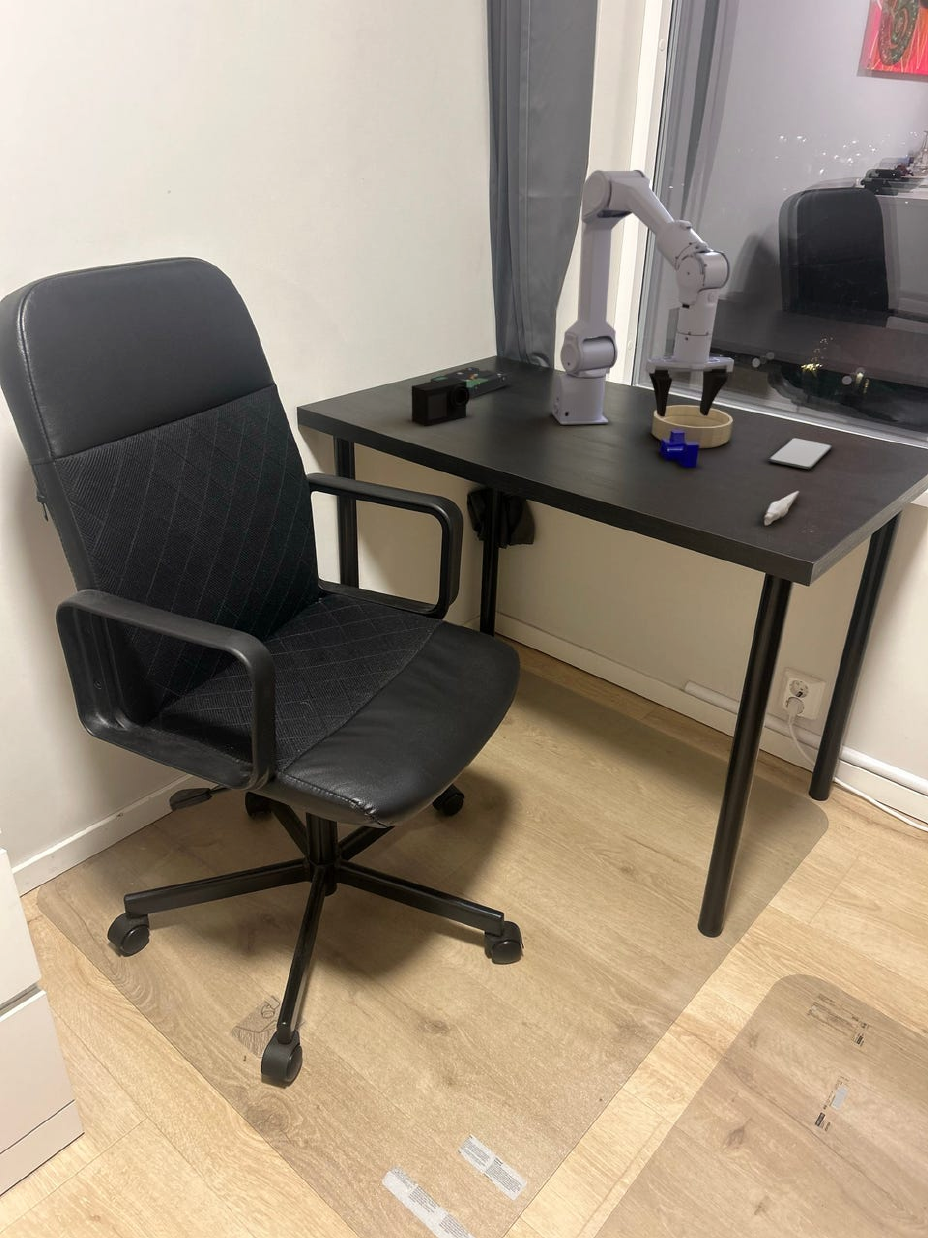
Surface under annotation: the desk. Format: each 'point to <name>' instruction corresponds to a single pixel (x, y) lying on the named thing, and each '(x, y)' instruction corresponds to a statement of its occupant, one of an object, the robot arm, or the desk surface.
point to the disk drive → (477, 380)
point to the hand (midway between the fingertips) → (682, 414)
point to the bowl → (694, 425)
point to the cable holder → (680, 449)
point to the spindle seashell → (779, 508)
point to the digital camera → (439, 401)
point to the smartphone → (800, 453)
